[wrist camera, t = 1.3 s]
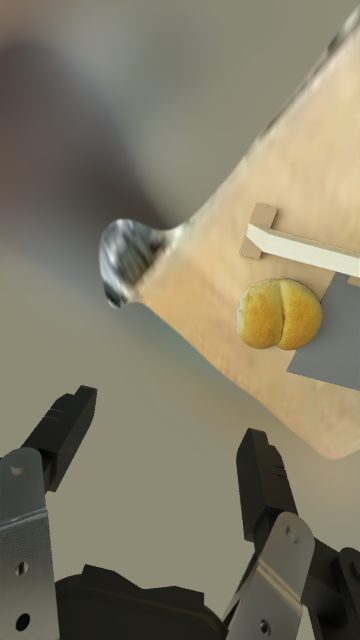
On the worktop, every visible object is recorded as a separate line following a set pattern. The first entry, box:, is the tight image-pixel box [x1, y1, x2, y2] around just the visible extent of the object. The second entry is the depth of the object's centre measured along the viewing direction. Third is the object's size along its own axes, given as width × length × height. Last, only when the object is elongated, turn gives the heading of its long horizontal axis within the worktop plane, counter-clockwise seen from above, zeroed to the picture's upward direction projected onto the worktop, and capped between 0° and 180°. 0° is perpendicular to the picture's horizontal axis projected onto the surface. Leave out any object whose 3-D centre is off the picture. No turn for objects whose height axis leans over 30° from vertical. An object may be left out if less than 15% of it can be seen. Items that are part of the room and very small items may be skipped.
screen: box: [239, 203, 360, 287], centre depth 23 cm, size 5×14×10 cm, turn 76°
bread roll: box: [236, 279, 322, 350], centre depth 29 cm, size 8×9×4 cm
